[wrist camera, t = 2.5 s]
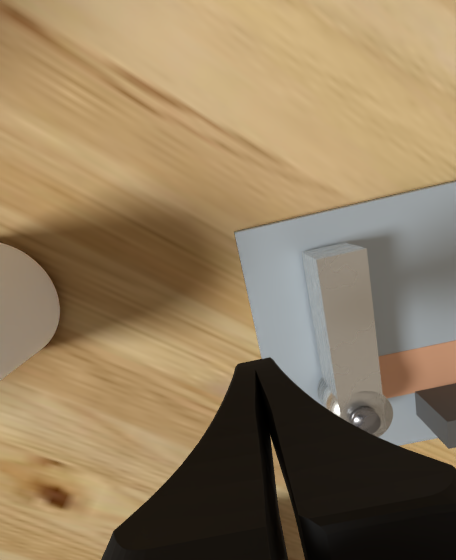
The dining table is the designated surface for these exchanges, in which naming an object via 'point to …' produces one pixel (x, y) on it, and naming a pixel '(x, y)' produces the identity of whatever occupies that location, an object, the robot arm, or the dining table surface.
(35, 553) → the dining table surface
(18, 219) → the dining table surface
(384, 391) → the latch board
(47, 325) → the beverage can
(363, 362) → the latch bar
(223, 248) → the dining table surface
